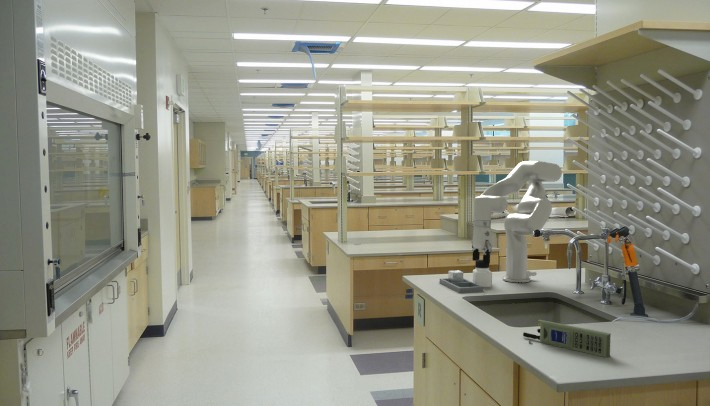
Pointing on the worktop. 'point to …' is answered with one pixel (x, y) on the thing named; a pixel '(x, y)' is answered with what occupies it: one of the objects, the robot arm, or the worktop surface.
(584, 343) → the handheld radio
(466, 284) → the bay tray
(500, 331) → the worktop surface
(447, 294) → the worktop surface
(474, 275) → the medicine bottle
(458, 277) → the steel block
